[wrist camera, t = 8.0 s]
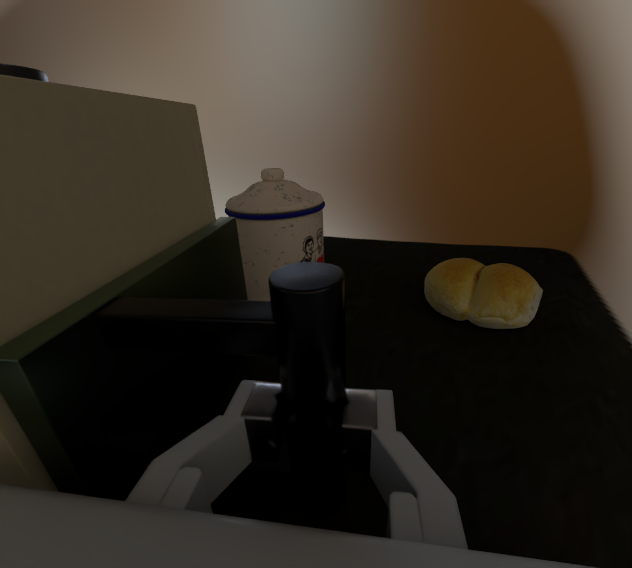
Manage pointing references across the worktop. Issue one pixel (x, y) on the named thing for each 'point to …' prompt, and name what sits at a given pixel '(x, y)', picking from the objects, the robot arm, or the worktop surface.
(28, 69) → the cube with dark spot
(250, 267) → the enamel mug with lid
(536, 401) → the worktop surface
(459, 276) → the bread roll
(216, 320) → the door with handle
